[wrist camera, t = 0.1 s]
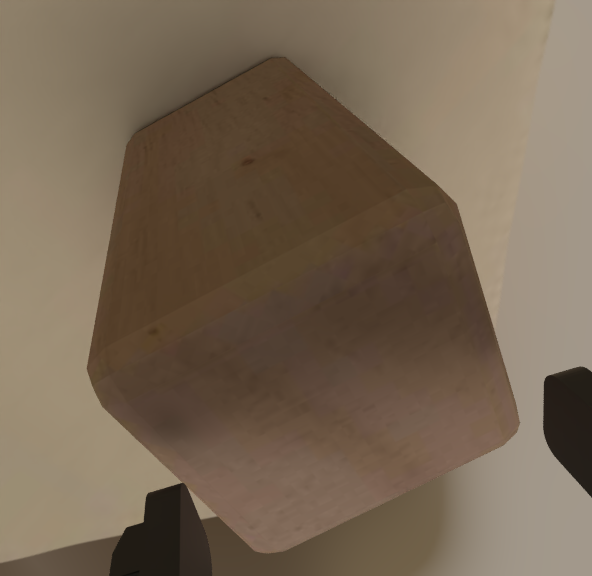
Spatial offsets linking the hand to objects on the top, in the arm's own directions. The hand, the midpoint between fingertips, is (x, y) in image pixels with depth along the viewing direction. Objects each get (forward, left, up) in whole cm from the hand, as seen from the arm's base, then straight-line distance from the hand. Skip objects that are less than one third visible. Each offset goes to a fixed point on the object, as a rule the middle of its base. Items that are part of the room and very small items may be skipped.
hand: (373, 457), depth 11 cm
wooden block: (+1, +1, -23) cm, 23 cm away
